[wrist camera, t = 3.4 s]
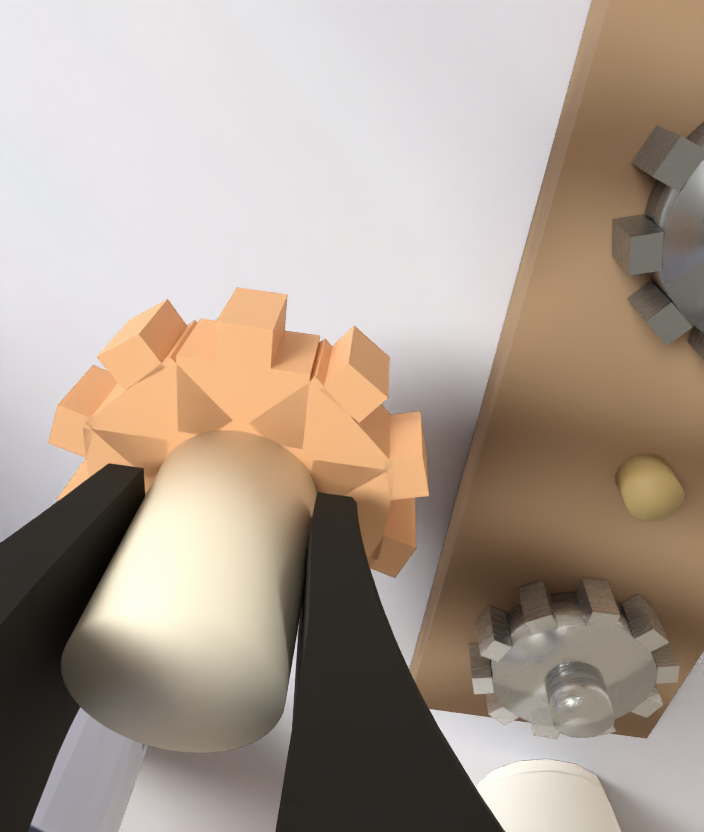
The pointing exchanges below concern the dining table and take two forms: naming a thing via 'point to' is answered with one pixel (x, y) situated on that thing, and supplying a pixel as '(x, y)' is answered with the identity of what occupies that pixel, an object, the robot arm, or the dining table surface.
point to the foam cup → (547, 798)
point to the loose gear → (226, 510)
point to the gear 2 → (668, 237)
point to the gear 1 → (571, 660)
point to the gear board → (586, 383)
